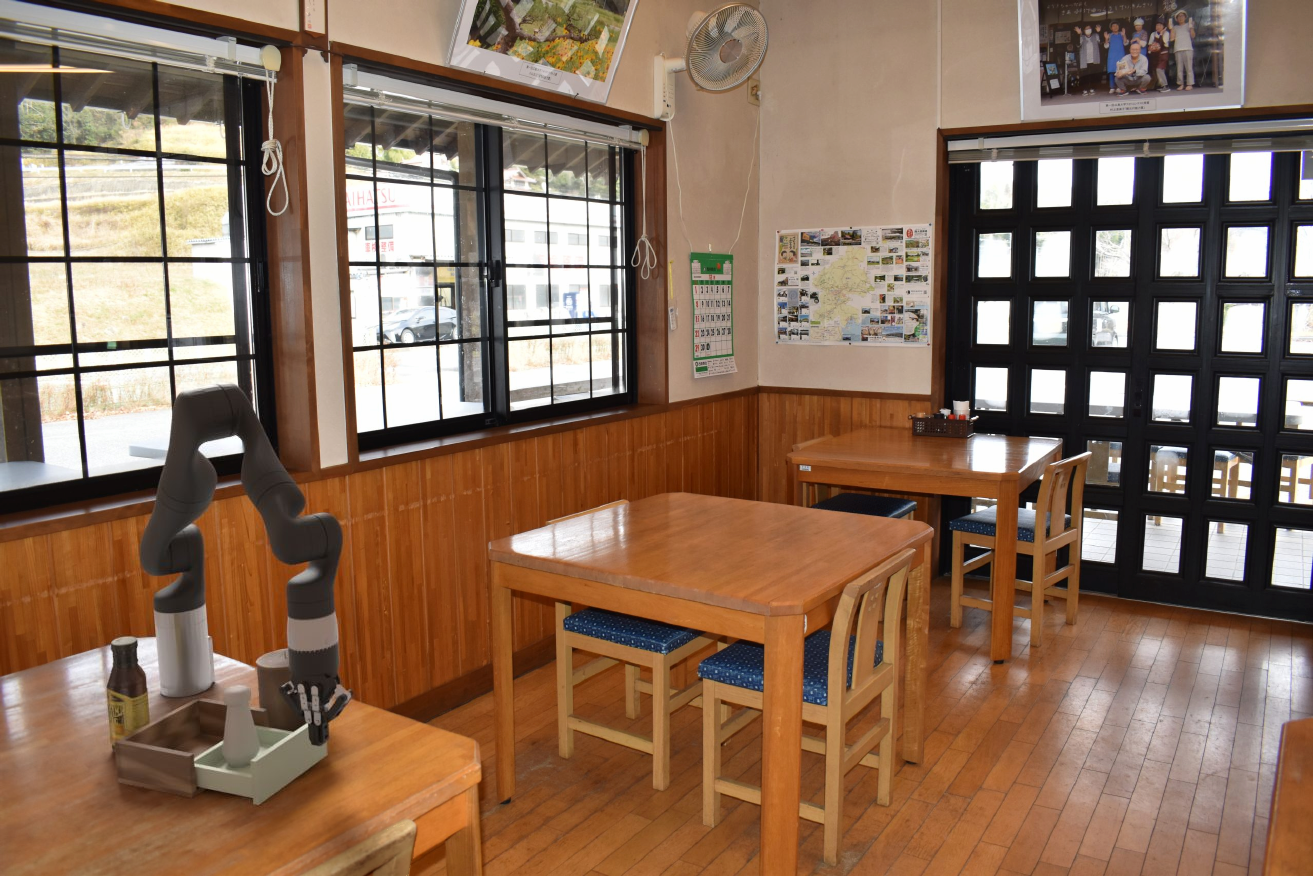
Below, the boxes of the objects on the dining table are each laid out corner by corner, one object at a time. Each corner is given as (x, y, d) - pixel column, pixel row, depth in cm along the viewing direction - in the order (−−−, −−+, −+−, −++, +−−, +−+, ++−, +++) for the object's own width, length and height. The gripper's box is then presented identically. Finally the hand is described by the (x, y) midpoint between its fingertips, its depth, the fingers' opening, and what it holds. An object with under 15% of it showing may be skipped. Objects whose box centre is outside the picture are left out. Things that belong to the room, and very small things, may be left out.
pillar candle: (322, 732, 177) (318, 653, 175) (265, 745, 172) (260, 664, 170) (310, 713, 185) (306, 637, 183) (255, 725, 180) (250, 647, 178)
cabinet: (200, 734, 176) (198, 697, 175) (269, 746, 172) (267, 709, 171) (118, 782, 160) (114, 742, 158) (192, 798, 155) (188, 756, 154)
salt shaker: (266, 762, 162) (261, 688, 160) (231, 774, 158) (225, 698, 156) (251, 750, 166) (247, 678, 164) (217, 762, 163) (211, 688, 160)
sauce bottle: (105, 748, 171) (95, 639, 168) (143, 736, 176) (134, 630, 172) (119, 760, 167) (109, 649, 164) (158, 747, 171) (149, 639, 168)
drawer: (255, 741, 172) (252, 703, 171) (327, 754, 167) (325, 715, 166) (180, 789, 156) (177, 746, 155) (258, 805, 151) (255, 761, 150)
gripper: (363, 636, 155) (368, 739, 158) (293, 627, 159) (300, 728, 162) (334, 653, 148) (339, 760, 151) (262, 643, 152) (269, 748, 155)
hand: (319, 743), depth 157 cm, fingers closed
